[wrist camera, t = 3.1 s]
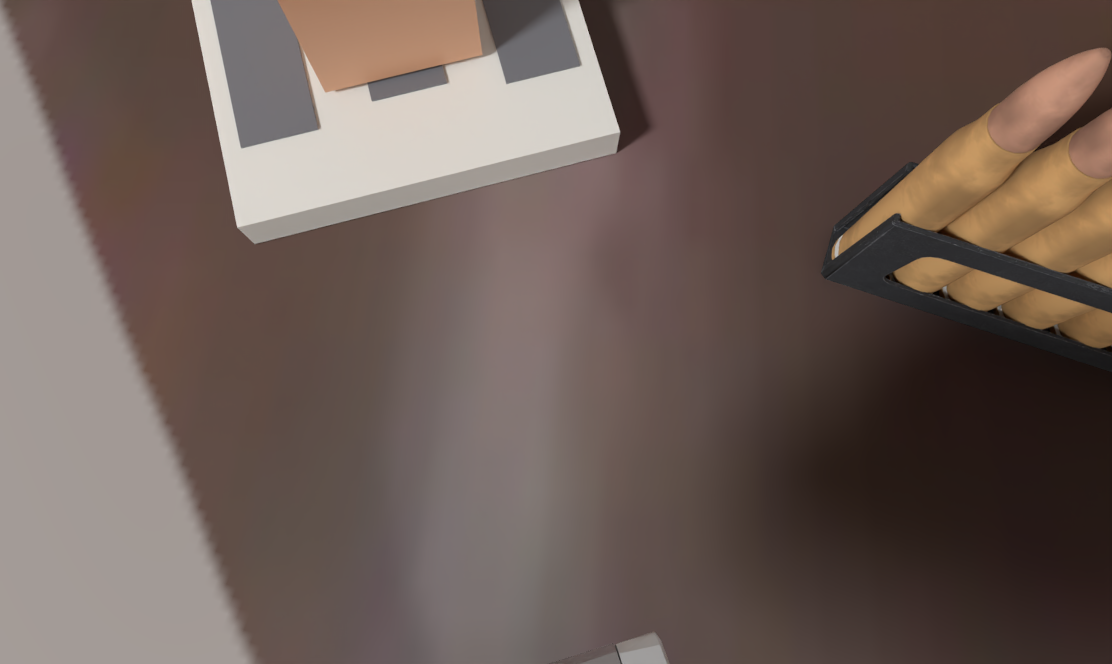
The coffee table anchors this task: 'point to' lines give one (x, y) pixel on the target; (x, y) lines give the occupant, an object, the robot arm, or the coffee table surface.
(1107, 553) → the coffee table surface
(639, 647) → the robot arm
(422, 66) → the tan rectangular block
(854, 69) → the coffee table surface
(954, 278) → the ammunition clip
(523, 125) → the switch board
